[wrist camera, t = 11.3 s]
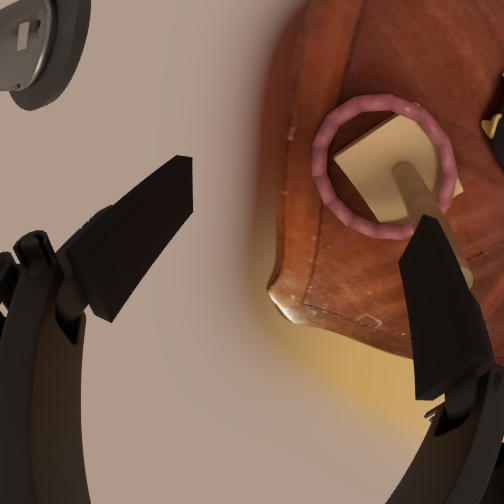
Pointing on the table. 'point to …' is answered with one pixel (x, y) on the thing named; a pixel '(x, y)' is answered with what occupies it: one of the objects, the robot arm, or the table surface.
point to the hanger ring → (379, 104)
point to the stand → (400, 176)
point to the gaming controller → (496, 132)
